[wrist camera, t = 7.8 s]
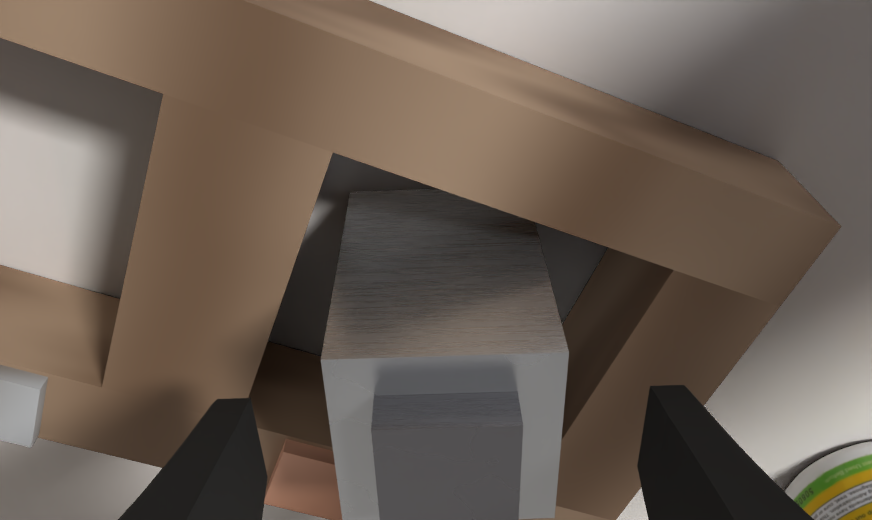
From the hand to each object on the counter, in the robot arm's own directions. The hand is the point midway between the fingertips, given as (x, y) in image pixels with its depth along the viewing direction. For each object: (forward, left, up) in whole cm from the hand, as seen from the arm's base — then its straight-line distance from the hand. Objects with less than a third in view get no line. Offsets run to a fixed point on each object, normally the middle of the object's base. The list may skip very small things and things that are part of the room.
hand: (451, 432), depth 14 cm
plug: (0, 0, -6) cm, 6 cm away
